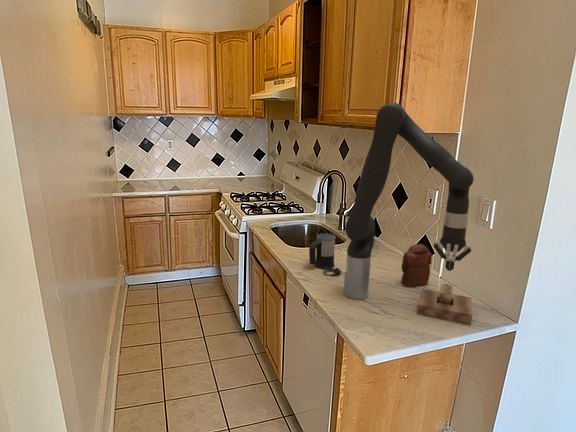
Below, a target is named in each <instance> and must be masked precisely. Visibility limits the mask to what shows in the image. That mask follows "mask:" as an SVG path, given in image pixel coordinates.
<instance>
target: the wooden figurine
mask: <svg viewBox="0 0 576 432" xmlns="http://www.w3.org/2000/svg"><path fill="white" fill-rule="evenodd" d="M432 257H433V256H432V253H431V252H430V250H429V248H428V247H427V246H426V245H425V244H422V243H415V244H412V245H411V246H409V248H408V249H407V251H406V252H404V254H403V256H402V264H401V271H402V277H401V281H400V283H401V284H400V285H403V287H409V288H410V287H411V288H413V287H414V288H415V287H420V286H426V285H427V284H428V282H429V280H430V274H431V266H430V265H431V264H432Z"/></svg>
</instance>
